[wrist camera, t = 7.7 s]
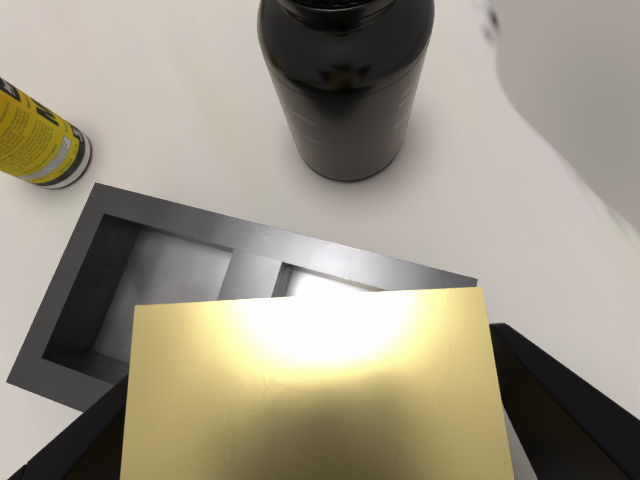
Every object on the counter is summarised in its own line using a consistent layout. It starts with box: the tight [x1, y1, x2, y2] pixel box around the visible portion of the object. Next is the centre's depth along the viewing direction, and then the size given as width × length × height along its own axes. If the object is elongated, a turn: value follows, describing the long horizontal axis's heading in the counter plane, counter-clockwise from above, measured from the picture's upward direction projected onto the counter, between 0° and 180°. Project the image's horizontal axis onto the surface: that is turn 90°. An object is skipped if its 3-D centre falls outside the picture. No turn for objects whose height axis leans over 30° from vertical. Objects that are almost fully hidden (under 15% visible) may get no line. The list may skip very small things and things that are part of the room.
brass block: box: [120, 287, 515, 480], centre depth 10 cm, size 6×6×12 cm
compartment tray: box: [6, 182, 478, 412], centre depth 16 cm, size 10×20×4 cm, turn 74°
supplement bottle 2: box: [257, 0, 435, 180], centre depth 14 cm, size 7×7×12 cm
